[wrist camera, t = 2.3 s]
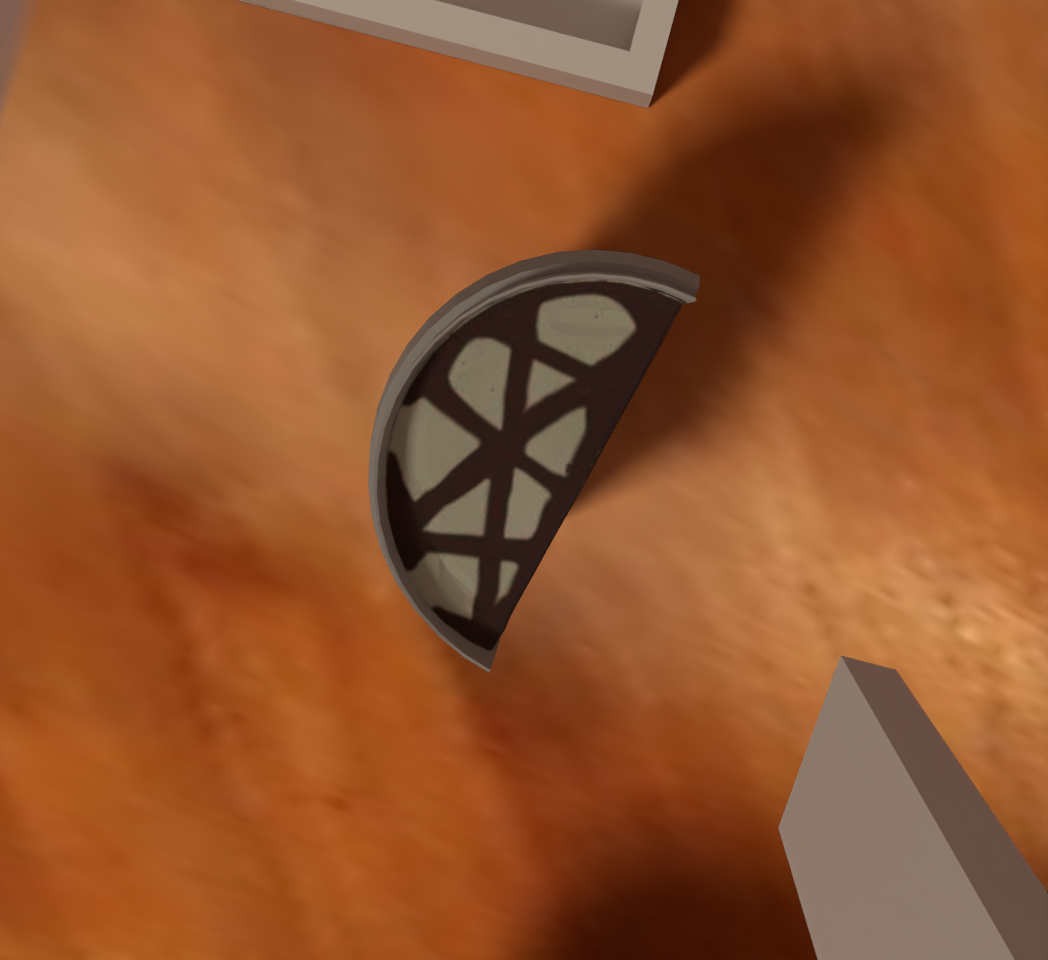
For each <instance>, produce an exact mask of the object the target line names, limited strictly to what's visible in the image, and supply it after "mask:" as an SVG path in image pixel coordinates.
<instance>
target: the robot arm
mask: <svg viewBox="0 0 1048 960" xmlns="http://www.w3.org/2000/svg"><path fill="white" fill-rule="evenodd" d="M778 829H779V832H780V835H781V839H782V842H783V845H784V849H785V852H786V855H787V859H788V862H789V865H790V869H791V872H792V875H793V879H794V882H795V885H796V889H797V892H798V896H799V899H800V902H801V906H802V909H803V912H804V916H805V919H806V922H807V926H808V929H809V932H810V936H811V939H812V942H813V946H814V949H815V952H816V956H817V959H818V960H1048V892H1047V891H1046V890H1045V888H1044V887H1043V885H1042V884H1041V882H1040V881H1039V880H1038V878H1037V877H1036V875H1035V874H1034V872H1033V871H1032V869H1031V868H1030V866H1029V865H1028V863H1027V862H1026V860H1025V859H1024V857H1023V856H1022V854H1021V853H1020V852H1019V850H1018V849H1017V847H1016V846H1015V844H1014V843H1013V841H1012V840H1011V838H1010V837H1009V835H1008V834H1007V832H1006V831H1005V829H1004V828H1003V827H1002V825H1001V824H1000V822H999V821H998V819H997V818H996V816H995V815H994V813H993V812H992V810H991V809H990V807H989V806H988V804H987V803H986V802H985V800H984V799H983V797H982V796H981V794H980V793H979V791H978V790H977V788H976V787H975V785H974V784H973V782H972V781H971V779H970V778H969V777H968V775H967V774H966V772H965V771H964V769H963V768H962V766H961V765H960V763H959V762H958V760H957V759H956V757H955V756H954V754H953V753H952V752H951V750H950V749H949V747H948V746H947V744H946V743H945V741H944V740H943V738H942V737H941V735H940V734H939V732H938V731H937V729H936V728H935V727H934V725H933V724H932V722H931V721H930V719H929V718H928V716H927V715H926V713H925V712H924V710H923V709H922V707H921V706H920V704H919V703H918V702H917V700H916V699H915V697H914V696H913V694H912V693H911V691H910V690H909V688H908V687H907V685H906V684H905V682H904V681H903V679H902V678H901V677H900V675H899V674H898V672H897V671H896V670H895V669H891V668H887V667H883V666H879V665H875V664H872V663H868V662H864V661H860V660H856V659H852V658H848V657H845V656H840V659H839V662H838V665H837V667H836V670H835V673H834V676H833V678H832V681H831V684H830V687H829V689H828V692H827V695H826V698H825V700H824V703H823V706H822V709H821V711H820V714H819V717H818V720H817V722H816V725H815V728H814V731H813V733H812V736H811V739H810V742H809V745H808V747H807V750H806V753H805V756H804V758H803V761H802V764H801V767H800V769H799V772H798V775H797V778H796V780H795V783H794V786H793V789H792V791H791V794H790V797H789V800H788V802H787V805H786V808H785V811H784V813H783V816H782V819H781V822H780V825H779V827H778Z"/></svg>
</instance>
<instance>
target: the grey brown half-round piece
mask: <svg viewBox="0 0 1048 960" xmlns="http://www.w3.org/2000/svg"><path fill="white" fill-rule="evenodd" d="M699 278H700V275H697V274H695V273H693V272H690V271H688V270H685V269H683V268H681V267H678V266H676V265H673V264H671V263H669V262H666V261H662V260H658V259H654V258H650V257H646V256H642V255H638V254H634V253H628V252H617V251H605V250H580V251H567V252H556V253H551V254H547V255H543V256H539V257H535V258H531V259H527V260H522V261H519V262H517V263H514V264H512V265H510V266H507V267H505V268H502V269H500V270H498V271H495V272H493V273H491V274H488V275H486V276H484V277H483V278H481V279H480V280H478V281H476V282H475V283H473V284H472V285H470V286H468V287H467V288H465V289H464V290H462V291H460V292H459V293H457V294H456V295H455V296H454V297H452V298H451V299H450V300H449V301H448V302H447V303H446V304H444V305H443V306H442V307H441V308H440V309H439V310H438V311H436V312H435V313H434V314H433V315H432V316H431V317H430V318H429V319H428V320H427V321H426V322H425V324H424V325H423V326H422V327H421V329H420V330H419V331H418V332H417V333H416V335H415V336H414V337H413V338H412V339H411V341H410V342H409V343H408V344H407V346H406V348H405V349H404V351H403V353H402V355H401V356H400V358H399V360H398V361H397V363H396V365H395V367H394V368H393V370H392V372H391V374H390V376H389V378H388V381H387V384H386V386H385V389H384V392H383V394H382V397H381V399H380V402H379V405H378V408H377V413H376V418H375V423H374V428H373V433H372V438H371V446H370V461H369V483H368V486H369V494H370V503H371V512H372V519H373V523H374V526H375V530H376V533H377V537H378V540H379V544H380V548H381V551H382V553H383V555H384V557H385V559H386V562H387V564H388V566H389V568H390V570H391V573H392V575H393V577H394V579H395V581H396V583H397V584H398V586H399V587H400V589H401V590H402V592H403V593H404V595H405V596H406V598H407V599H408V601H409V602H410V604H411V605H412V607H413V608H414V609H415V610H416V612H417V613H418V614H419V615H420V616H421V617H422V618H423V619H424V621H425V622H426V623H427V624H428V625H429V626H430V627H431V628H432V629H433V631H434V632H435V633H436V634H437V635H438V636H439V637H440V638H441V639H443V640H444V641H445V642H446V643H447V644H449V645H450V646H451V647H452V648H454V649H455V650H456V651H457V652H458V653H460V654H461V655H462V656H463V657H465V658H466V659H468V660H470V661H471V662H473V663H474V664H476V665H478V666H479V667H481V668H483V669H484V670H486V671H488V672H490V670H491V666H492V663H493V660H494V657H495V653H496V650H497V647H498V644H499V641H500V637H501V634H502V633H503V632H504V630H505V628H506V626H507V623H508V620H509V618H510V616H511V614H512V612H513V611H514V609H515V607H516V605H517V603H518V601H519V599H520V598H521V596H522V594H523V592H524V591H525V589H526V587H527V585H528V583H529V582H530V580H531V578H532V576H533V575H534V573H535V571H536V569H537V567H538V566H539V564H540V562H541V560H542V558H543V556H544V555H545V553H546V551H547V549H548V547H549V546H550V544H551V542H552V540H553V538H554V537H555V535H556V533H557V531H558V530H559V528H560V526H561V524H562V523H563V521H564V519H565V517H566V516H567V514H568V512H569V510H570V508H571V507H572V505H573V503H574V501H575V500H576V498H577V496H578V494H579V493H580V491H581V489H582V487H583V486H584V484H585V482H586V480H587V478H588V476H589V474H590V472H591V471H592V469H593V467H594V465H595V463H596V461H597V459H598V458H599V456H600V454H601V452H602V450H603V448H604V446H605V444H606V443H607V441H608V439H609V437H610V435H611V434H612V432H613V430H614V428H615V427H616V425H617V423H618V421H619V419H620V418H621V416H622V414H623V412H624V410H625V409H626V407H627V405H628V403H629V402H630V400H631V398H632V396H633V394H634V393H635V391H636V389H637V387H638V385H639V383H640V382H641V380H642V378H643V376H644V374H645V373H646V371H647V369H648V367H649V365H650V364H651V362H652V360H653V358H654V356H655V354H656V353H657V351H658V349H659V347H660V345H661V344H662V342H663V340H664V338H665V336H666V334H667V332H668V330H669V329H670V327H671V325H672V323H673V321H674V319H675V317H676V316H677V314H678V312H679V310H680V308H681V306H682V305H684V304H687V303H691V302H695V301H696V299H697V298H696V297H695V295H696V293H697V291H698V289H699Z"/></svg>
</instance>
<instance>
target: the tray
mask: <svg viewBox="0 0 1048 960" xmlns="http://www.w3.org/2000/svg"><path fill="white" fill-rule="evenodd" d="M239 1H243V2H247V3H250V4H254V5H258V6H262V7H265V8H269V9H273V10H277V11H281V12H284V13H288V14H292V15H296V16H300V17H303V18H307V19H311V20H315V21H319V22H322V23H326V24H330V25H334V26H338V27H341V28H345V29H349V30H353V31H357V32H360V33H364V34H368V35H372V36H376V37H379V38H383V39H387V40H391V41H395V42H398V43H402V44H406V45H410V46H414V47H417V48H421V49H425V50H429V51H432V52H436V53H440V54H444V55H448V56H451V57H455V58H459V59H463V60H467V61H470V62H474V63H478V64H482V65H486V66H489V67H493V68H497V69H501V70H505V71H508V72H512V73H516V74H520V75H524V76H527V77H531V78H535V79H539V80H543V81H546V82H550V83H554V84H558V85H562V86H565V87H569V88H573V89H577V90H580V91H584V92H588V93H592V94H596V95H599V96H603V97H607V98H611V99H615V100H618V101H622V102H626V103H630V104H634V105H637V106H641V107H645V108H648V107H649V104H650V101H651V99H652V96H653V92H654V89H655V85H656V81H657V78H658V74H659V70H660V67H661V63H662V59H663V56H664V52H665V48H666V45H667V41H668V37H669V34H670V30H671V26H672V23H673V19H674V15H675V12H676V8H677V4H678V0H239Z"/></svg>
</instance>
